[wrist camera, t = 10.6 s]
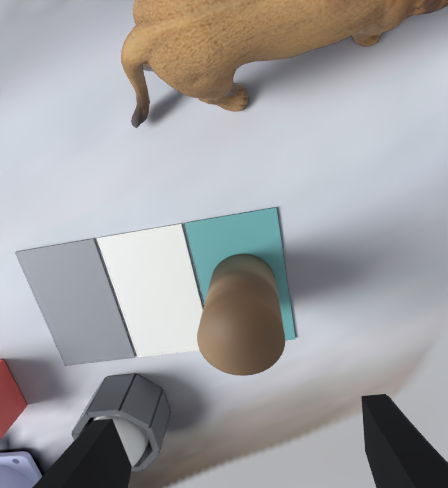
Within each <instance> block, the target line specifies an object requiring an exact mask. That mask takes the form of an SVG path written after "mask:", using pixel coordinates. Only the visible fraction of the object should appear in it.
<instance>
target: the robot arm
mask: <svg viewBox="0 0 448 488" xmlns="http://www.w3.org/2000/svg"><path fill="white" fill-rule="evenodd" d="M362 411H363V424H364V440H365V452H366V455H367V458H368V461H369V464H370V468H371V471H372V475H373V478H374V481H375V484H376V487H377V488H448V462H447V461H445V459H444V458H443V457H442V456H441V455H440V454H439V453H438V452H437V451H436V450H435V449H434V448H433V447H432V446H431V444H430V443H429V442H428V441H427V440H426V439H425V438H424V437H423V436H422V435H421V433H420V432H419V431H418V430H417V429H416V428H415V427H414V425H413V424H412V423H411V422H410V421H409V420H408V419H407V418H406V416H405V415H404V414H403V413H402V412H401V410H400V409H399V408H398V407H397V406H396V405H395V403H394V402H393V401H392V400H391V398H390V397H389V396H387V395H386V394H381V395H370V396H362ZM131 469H132V465H131V463H130V461H129V458H128V456H127V453H126V451H125V448H124V446H123V443H122V441H121V439H120V436H119V434H118V431H117V429H116V426H115V424H114V421H113V419H102V420H93V421H92V422H91V423H90V425H89V426H88V427H87V428H86V429H85V430H84V431H83V432H82V433H81V434H80V435H79V436H78V438H77V439H76V440H75V441H74V442H73V443H72V444H71V445H70V446H69V448H68V449H67V450H66V451H65V452H64V453H63V454H62V455H61V456H60V458H59V459H58V460H57V461H56V462H55V463H54V464H53V465H52V466H51V468H50V469H49V470H48V471H47V472H46V473H45V474H44V475H43V476H42V475H41V473H40V471H39V469H38V467H37V466H36V464H35V462H34V460H33V458H32V456H31V455H30V454H29V453H28V452H25V451H21V452H8V453H0V488H128V483H129V478H130V474H131Z"/></svg>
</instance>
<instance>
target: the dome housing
mask: <svg viewBox="0 0 448 488" xmlns="http://www.w3.org/2000/svg"><path fill="white" fill-rule="evenodd" d="M114 415H119V416H121V417H123V418H125V419H127V420H129V421H131V422H132V423H134V424H136V425H138V426H140V427H142V428H143V429H145V431H146V433H147V436H148V442H147V446H146V448H145V451H144V453H143V455H142V457H141V458H140V460H139V461H138V462H137V463H136V464H135V465H134V466H133V467H132V469H131V472H136V471H142V470H145V469H146V468H147V467H148V465H149V464H150V463H151V462H152V461H153V460H154V459H155V458H156V456H157V455H158V454H159V453H160V449H161V445H162V442H163V438H164V435H165V431H166V427H167V424H168V420H169V416H170V409H169V406H168V403H167V400H166V396H165V393H164V390H162V388H160V387H159V386H157V385H155V384H153V383H151V382H150V381H148V380H146V379H144V378H143V377H141V376H139V375H136V376H135V374H127V375H118V376H108V377H107V378H105V379H104V380H103V382H102V383H101V384H100V386H99V387H98V389H97V390H96V392H95V393H94V395H93V396H92V398H91V400H90V401H89V403H88V405H87V407H86V408H85V410H84V412H83V413H82V415H81V417H80V419H79V420H78V422H77V424H76V426H75V427H74V429H73V431H72V437H73V439H74V441H75V440H76V439H77V438H78V436H79V435H80V434H81V433H82V432H83V431H84V430H85V429H86V428H87V427H88V426H89V425H90V423H91V422H92V421H93V419H94V417H102V416H114Z"/></svg>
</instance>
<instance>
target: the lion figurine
mask: <svg viewBox="0 0 448 488" xmlns="http://www.w3.org/2000/svg"><path fill="white" fill-rule="evenodd" d="M446 6H448V0H135V2H134V6H133V16H134V20H135V23H136V26H135V27H134V28H133V30H132V31H131V32H130V33H129V35H128V36H127V38H126V40H125V42H124V45H123V48H122V54H121V63H122V66H123V69H124V71H125V73H126V75H127V77H128V78H129V80H130V82H131V84H132V85H133V87H134V89H135V91H136V99H137V106H136V109H135V112H134V114H133V116H132V120H131V122H132V125H133V126H134V127H135V128H137V127H138V126H139V125H140V124H141V123H143V122H144V121H145V120H146V119H147V116H148V113H149V104H150V100H149V95H148V89H147V85H146V81H145V77H144V72H143V70H146V71H154V72H155V74H156V75H157V76H158V77H159V78H161V79H162V80H163V81H165V82H166V83H167V84H169V85H170V86H171V87H173V88H174V89H176V90H177V91H179V92H181V93H182V94H185V95H187V96H190V97H195V98H198V99H199V100H200V101H203V102H205V103H208V104H214V105H218V106H219V107H221V108H223V109H226V110H230V111H241V110H243V109H244V108H245V106H246V105H247V103H248V94H247V91H246V89H245V87H244V85H242V84H237V83H234V84H233V77H234V74H235V71H236V69H237V68H238V67H240V66H241V65H243V64H246V63H251V62H255V61H267V60H278V59H285V58H290V57H294V56H297V55H300V54H303V53H306V52H308V51H311V50H313V49H318V48H321V47H324V46H327V45H330V44H333V43H336V42H339V41H341V40H344V39H346V38H348V37H350V36H351V35H352V37H353V39H354V41H355V42H356V43H358V44H360V45H362V46H371V45H374V44H375V43H376V42H377V41H378V39H379V38H380V36H381V35H382V33H383V32H385V31H389V30H392V29H394V28H395V27H396V26H398V25H399V24H400V23H401V22H402V21H403V20H404V19H406V18H408V17H410V16H412V15H419V14H428V13H431V12H434V11H437V10H440V9H442V8H444V7H446Z"/></svg>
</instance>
